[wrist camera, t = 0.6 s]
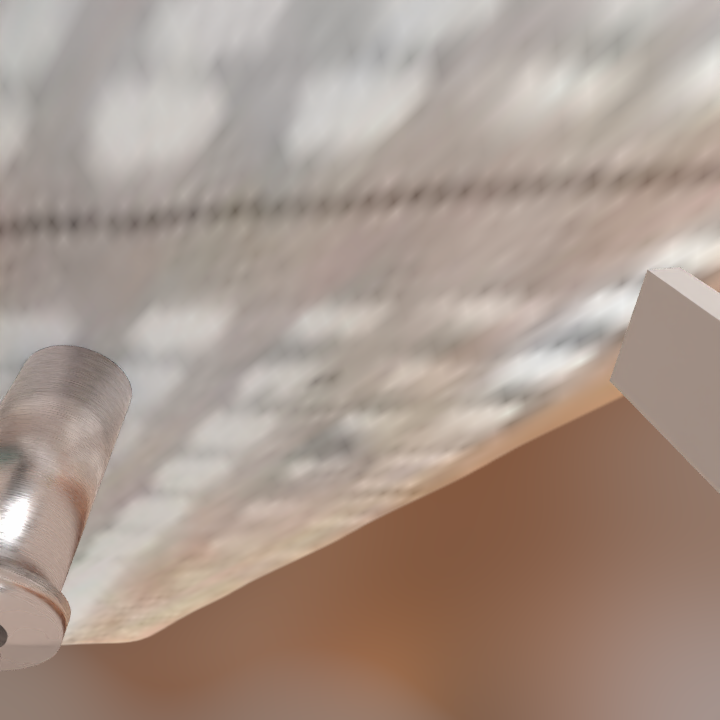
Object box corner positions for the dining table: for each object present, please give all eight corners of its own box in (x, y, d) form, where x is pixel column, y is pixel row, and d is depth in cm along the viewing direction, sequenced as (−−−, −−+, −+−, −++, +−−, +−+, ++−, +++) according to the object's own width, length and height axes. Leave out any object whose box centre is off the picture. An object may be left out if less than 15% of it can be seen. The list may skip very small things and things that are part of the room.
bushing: (-3, 327, 27) (-178, 576, 18) (141, 343, 28) (46, 590, 19) (20, 423, 31) (-113, 669, 22) (147, 435, 32) (70, 677, 23)
